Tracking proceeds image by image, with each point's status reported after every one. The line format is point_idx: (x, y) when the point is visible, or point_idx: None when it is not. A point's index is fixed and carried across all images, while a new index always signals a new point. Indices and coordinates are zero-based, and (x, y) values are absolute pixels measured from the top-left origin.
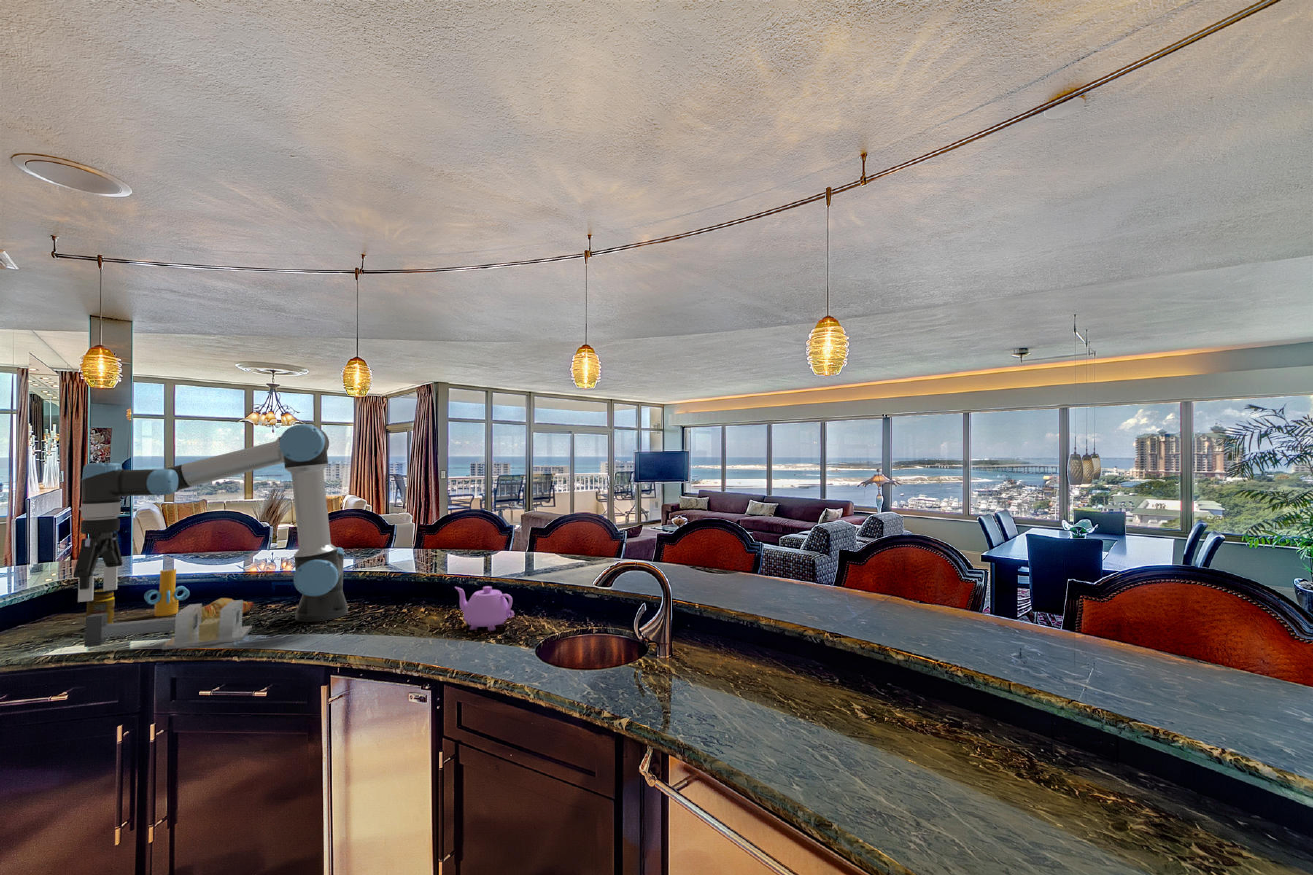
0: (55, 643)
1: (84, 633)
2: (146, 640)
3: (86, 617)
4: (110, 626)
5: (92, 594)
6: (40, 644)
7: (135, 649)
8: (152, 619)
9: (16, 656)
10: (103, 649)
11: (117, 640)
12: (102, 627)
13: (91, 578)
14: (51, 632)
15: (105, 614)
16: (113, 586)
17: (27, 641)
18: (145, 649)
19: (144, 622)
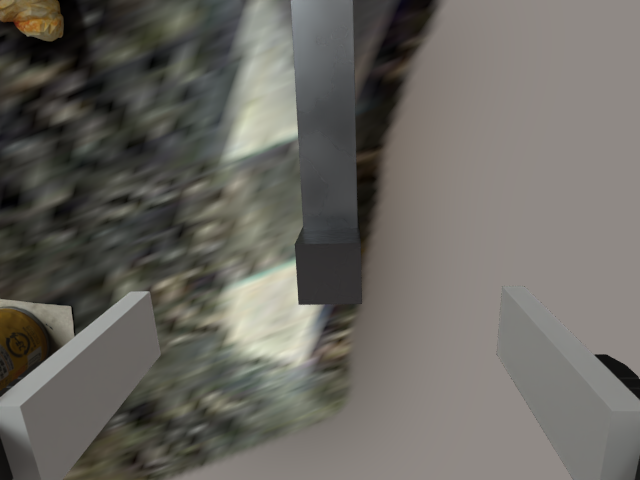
0: (175, 386)
1: None
2: (241, 103)
3: (360, 301)
4: (356, 194)
5: (536, 305)
6: (172, 420)
7: (366, 91)
8: (297, 37)
9: (291, 423)
10: None
11: (203, 213)
12: (356, 223)
13: (627, 400)
14: None
15: (320, 242)
16: (140, 316)
17: (124, 465)
18: (384, 49)
19: (352, 53)
